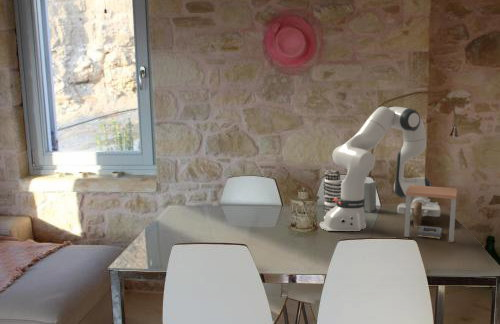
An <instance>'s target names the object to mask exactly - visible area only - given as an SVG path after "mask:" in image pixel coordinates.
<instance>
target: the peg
mask: <svg viewBox="0 0 500 324" xmlns="http://www.w3.org/2000/svg"><path fill="white" fill-rule="evenodd" d="M421 212H422V203H421V202H414V215H413V225H415V226H422V216H421Z"/></svg>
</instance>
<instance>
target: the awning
mask: <svg viewBox="0 0 500 324" xmlns="http://www.w3.org/2000/svg"><path fill="white" fill-rule="evenodd" d="M431 186H432V185H431ZM431 186H417V185H409V187H408V189H407V191H406V197H405V204H406V209H405V214H404V234H403V235H404V236H409V237H410V229H411V227H410V226H411V214H410V209H411V204H412V197H415V196H422V197H431V198H435V199H436V198H437V199H446V200H447V199H450V201H451V202H450V211H449V212H450V213H449V214H450V215H449V230H448V231H449V234H448V241H449V240H450V241H455V226H456V225H455V224H456V212H457V211H456V210H457V209H456V208H457V193H458V192H457V191H458V188H456V187H455V188H454V187H445V186H443V187H441V186H432V187H431ZM417 229H418V230H417V235H422V236H434V237H441V238H442V234H443V233H442V232H443V227H439V226H436V227H435V226H426V225H421V226H419V228H417ZM429 231H434V232H429ZM441 233H442V234H441ZM404 236H403V237H404Z"/></svg>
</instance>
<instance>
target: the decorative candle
mask: <svg viewBox="0 0 500 324" xmlns="http://www.w3.org/2000/svg"><path fill="white" fill-rule="evenodd" d="M324 175H325V176H324V177H325V178H324V182H323V189H324V190H323V196H324V204H323V209H324V210H323V219H325V215H326V213H327V212H328V211H330V210H331V209H332V208H334V207H335V206H336V205H337V202H335V201H334V199H335V198H337V199H339V198H340V197H341V182H342V180H341V172H340V171H339V170H338V169H335V168H334V169H332V168H331V169H327V170H326V171H325V172H324Z"/></svg>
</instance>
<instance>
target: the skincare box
mask: <svg viewBox="0 0 500 324" xmlns="http://www.w3.org/2000/svg"><path fill="white" fill-rule="evenodd" d="M364 199H365V208H364V212H367V213H371V212H374V211H375V210H377V181H375V180H365V185H364Z"/></svg>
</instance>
